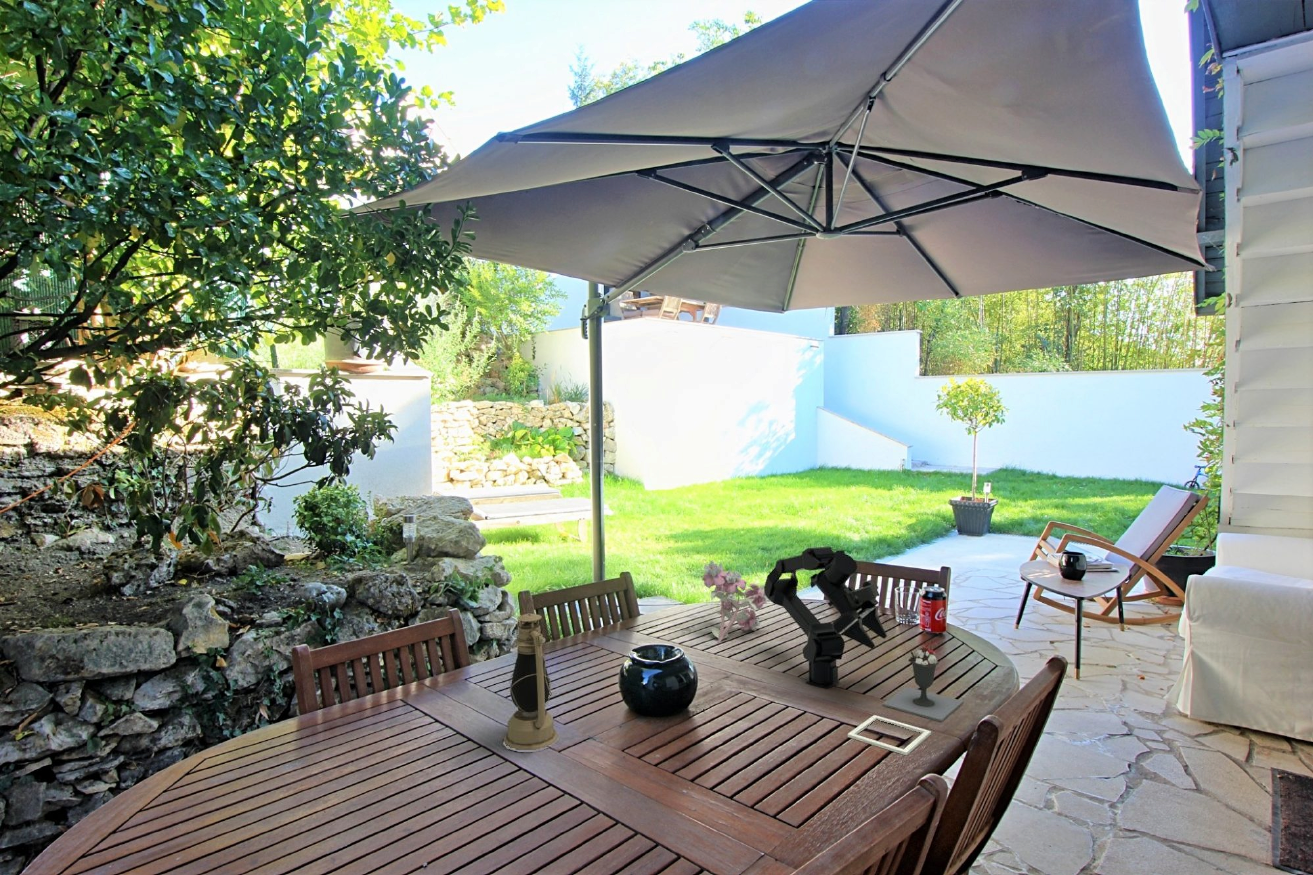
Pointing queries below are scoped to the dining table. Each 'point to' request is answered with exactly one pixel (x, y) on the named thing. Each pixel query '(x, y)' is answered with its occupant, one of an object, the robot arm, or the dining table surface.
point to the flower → (733, 598)
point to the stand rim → (902, 751)
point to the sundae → (924, 673)
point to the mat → (935, 712)
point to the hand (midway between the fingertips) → (879, 642)
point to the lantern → (530, 690)
